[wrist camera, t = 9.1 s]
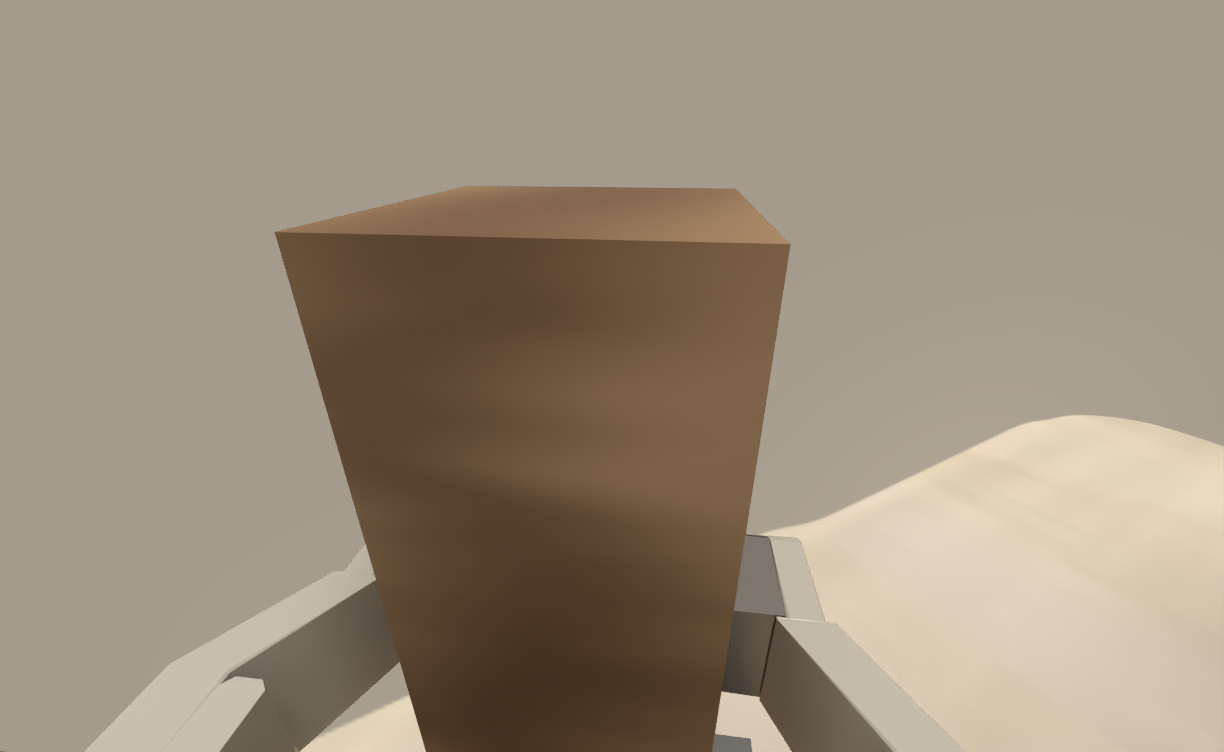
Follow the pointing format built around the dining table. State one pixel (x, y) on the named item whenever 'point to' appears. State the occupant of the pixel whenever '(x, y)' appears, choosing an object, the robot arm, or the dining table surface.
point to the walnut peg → (550, 447)
